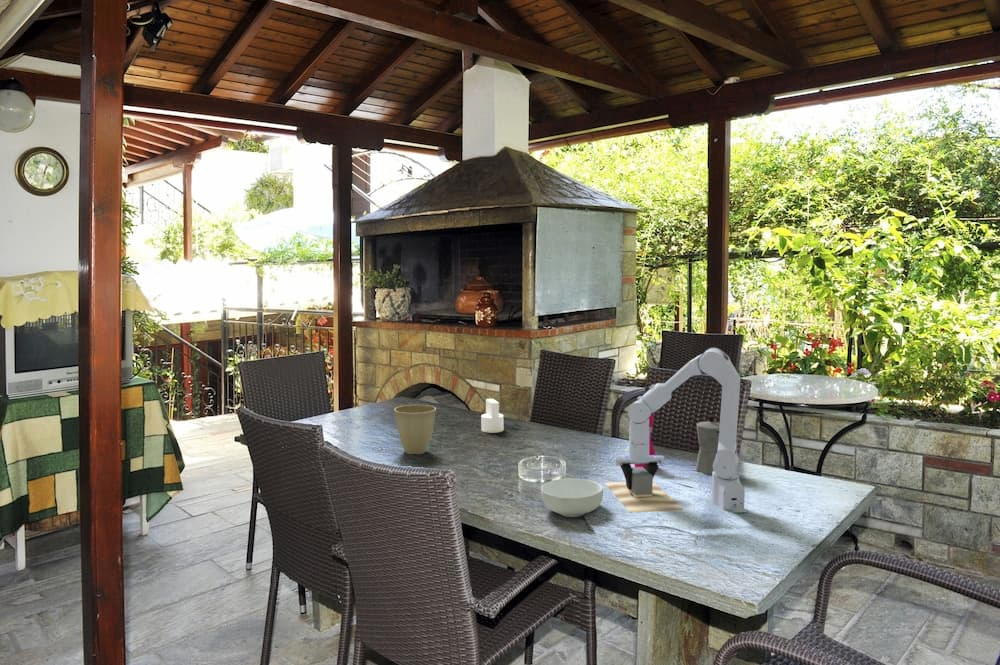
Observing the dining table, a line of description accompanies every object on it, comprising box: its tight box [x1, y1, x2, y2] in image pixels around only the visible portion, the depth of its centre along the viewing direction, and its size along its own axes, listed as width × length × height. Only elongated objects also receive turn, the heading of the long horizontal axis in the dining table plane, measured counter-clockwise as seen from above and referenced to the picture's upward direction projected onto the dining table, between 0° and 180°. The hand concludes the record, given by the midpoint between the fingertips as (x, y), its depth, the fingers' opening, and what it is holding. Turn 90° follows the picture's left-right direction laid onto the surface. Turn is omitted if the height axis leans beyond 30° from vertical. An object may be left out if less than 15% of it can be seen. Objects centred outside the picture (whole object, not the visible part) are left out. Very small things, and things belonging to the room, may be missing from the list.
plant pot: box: [393, 404, 437, 455], centre depth 256 cm, size 15×15×16 cm
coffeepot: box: [695, 415, 720, 475], centre depth 230 cm, size 15×9×18 cm, turn 14°
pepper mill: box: [633, 413, 656, 470], centre depth 235 cm, size 7×7×20 cm
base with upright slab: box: [480, 398, 505, 434], centre depth 289 cm, size 9×9×12 cm
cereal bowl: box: [540, 477, 604, 518], centre depth 195 cm, size 17×17×7 cm
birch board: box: [604, 481, 684, 513], centre depth 205 cm, size 26×15×1 cm, turn 7°
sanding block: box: [626, 466, 654, 497], centre depth 207 cm, size 9×5×6 cm, turn 7°
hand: (638, 488), depth 207 cm, fingers closed on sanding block, 5 cm apart
